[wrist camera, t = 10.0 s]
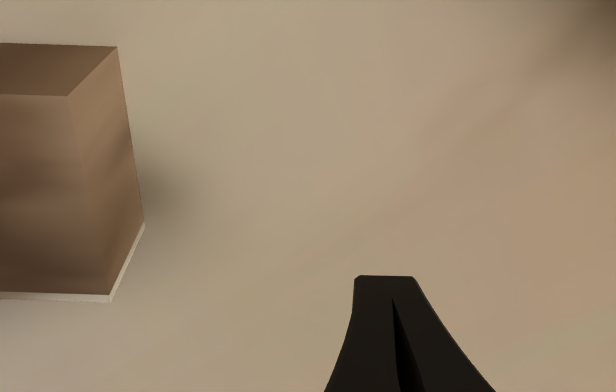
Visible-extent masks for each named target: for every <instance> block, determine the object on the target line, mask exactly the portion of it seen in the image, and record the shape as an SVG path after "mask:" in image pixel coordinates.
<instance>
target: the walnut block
mask: <svg viewBox="0 0 616 392" xmlns="http://www.w3.org/2000/svg"><path fill="white" fill-rule="evenodd" d="M144 229H145V225H144V218H143V212H142V205H141V199H140V192H139V186H138V179H137V173H136V167H135V160H134V154H133V147H132V141H131V134H130V128H129V121H128V115H127V108H126V102H125V96H124V89H123V83H122V76H121V70H120V63H119V57H118V50H117V47H108V46H78V45H48V44H18V43H0V299H19V300H49V301H80V302H111V301H112V299H113V297H114V295H115V292H116V290H117V288H118V286H119V284H120V281H121V279H122V277H123V275H124V273H125V270H126V268H127V266H128V264H129V262H130V259H131V257H132V255H133V253H134V251H135V248H136V246H137V244H138V242H139V240H140V237H141V235H142V233H143V231H144Z"/></svg>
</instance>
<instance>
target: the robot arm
mask: <svg viewBox="0 0 616 392" xmlns="http://www.w3.org/2000/svg"><path fill="white" fill-rule="evenodd" d="M324 392H496V391H495V390H494V389H493V388H492V387H491V386H490V385H489V383H488V382H487V381H486V380H485V379H484V378H483V376H482V375H481V374H480V373H479V371H478V370H477V369H476V368H475V367H474V365H473V364H472V363H471V362H470V360H469V359H468V358H467V356H466V355H465V354H464V353H463V351H462V350H461V349H460V347H459V346H458V344H457V343H456V342H455V340H454V339H453V337H452V336H451V335H450V333H449V332H448V330H447V329H446V328H445V326H444V325H443V323H442V322H441V320H440V319H439V317H438V316H437V314H436V313H435V311H434V309H433V308H432V306H431V305H430V303H429V302H428V300H427V298H426V297H425V295H424V293H423V291H422V290H421V288H420V286H419V284H418V283H417V281H416V280H415V279H414V278H413V277H412V276H370V275H359V276H358V277H357V278H355V279H354V292H353V306H352V314H351V319H350V322H349V326H348V329H347V333H346V336H345V340H344V343H343V346H342V349H341V351H340V354H339V357H338V359H337V362H336V365H335V367H334V370H333V372H332V375H331V377H330V380H329V382H328V384H327V386H326V389H325V391H324Z"/></svg>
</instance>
